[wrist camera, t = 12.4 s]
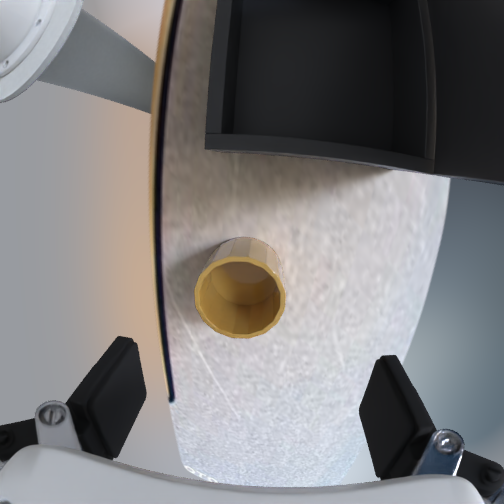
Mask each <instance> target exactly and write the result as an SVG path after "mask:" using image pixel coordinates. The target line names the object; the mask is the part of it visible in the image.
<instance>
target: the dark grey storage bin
mask: <svg viewBox="0 0 504 504" xmlns="http://www.w3.org/2000/svg"><path fill="white" fill-rule="evenodd" d="M205 133H206V134H205V149H207V150H212V151H217V152H225V153H248V154H265V155H279V156H291V157H302V158H312V159H322V160H330V161H338V162H346V163H354V164H361V165H367V166H374V167H380V168H386V169H392V170H399V171H407V172H415V173H423V174H430V175H434V174H433V173H434V161H435V145H436V74H435V59H434V48H433V39H432V30H431V23H430V17H429V10H428V5H427V0H218V2H217V10H216V18H215V26H214V35H213V45H212V55H211V65H210V76H209V88H208V101H207V116H206V131H205Z"/></svg>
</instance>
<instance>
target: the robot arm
mask: <svg viewBox="0 0 504 504" xmlns="http://www.w3.org/2000/svg"><path fill="white" fill-rule="evenodd" d="M55 5H56V0H0V77H1V76H4V75H6V74H8V73H10V72H11V71H12V70H13V69H15V68H16V67H17V66H18V65H19V64H20V63H21V62H22V61H23V60H24V59H25V58H26V57H27V55H28V54H29V53H30V52H31V51H32V49H33V48H34V47H35V45H36V44H37V42H38V41H39V39H40V38H41V36H42V34H43V33H44V31H45V29H46V27H47V25H48V24H49V21H50V19H51V17H52V14H53V12H54V8H55ZM145 399H146V387H145V382H144V377H143V372H142V368H141V362H140V357H139V351H138V345H137V343H135V342H134V341H133V339H132V338H128V337H122V336H118V337H117V338H116V339H115V341H114V342H113V343H112V344H111V345H110V347H109V348H108V349H107V351H106V352H105V353H104V354H103V356H102V357H101V358H100V359H99V361H98V362H97V363H96V364H95V365H94V366H93V368H92V369H91V370H90V372H89V373H88V374H87V375H86V377H85V378H84V379H83V381H82V382H81V383H80V384H79V386H78V387H77V388H76V390H75V391H74V392H73V394H72V395H71V397H70V398H69V399H68V401H67V402H66V403H65V404H64V403H62V402H61V401H56V400H55V401H48V402H45V403H43V404H42V405H40V406H39V407H38V408H37V410H36V412H35V418H33V419H29V420H25V421H21V422H15V423H11V424H6V425H1V426H0V504H504V469H503V467H502V466H501V465H500V464H498V463H496V462H494V461H491V460H488V459H486V458H483V457H481V456H478V455H476V454H473V453H471V452H468V451H466V450H464V445H465V444H464V440H463V438H462V437H461V435H459V434H458V433H457V432H455V431H453V430H450V429H441V430H438V431H437V430H436V428H435V426H434V424H433V422H432V420H431V418H430V416H429V414H428V412H427V410H426V408H425V406H424V404H423V402H422V400H421V398H420V397H419V395H418V393H417V391H416V389H415V388H414V386H413V385H412V383H411V381H410V379H409V378H408V376H407V374H406V372H405V370H404V368H403V367H402V365H401V363H400V361H399V360H398V358H397V356H396V355H385V356H381V357H380V359H378V360H376V362H375V365H374V368H373V371H372V374H371V377H370V380H369V383H368V385H367V388H366V391H365V394H364V396H363V399H362V402H361V404H360V407H359V415H360V419H361V422H362V426H363V429H364V433H365V436H366V440H367V443H368V447H369V451H370V455H371V458H372V462H373V466H374V470H375V474H376V476H377V477H378V478H379V477H380V479H381V481H374V482H366V483H357V484H348V485H337V486H322V487H258V486H243V485H232V484H223V483H214V482H207V481H200V480H194V479H188V478H182V477H177V476H172V475H167V474H163V473H158V472H154V471H150V470H146V469H142V468H138V467H134V466H130V465H127V464H123V463H120V462H116V461H113V458H117V457H118V455H119V454H120V451H121V449H122V447H123V445H124V443H125V441H126V438H127V436H128V434H129V432H130V430H131V428H132V426H133V424H134V422H135V420H136V418H137V416H138V414H139V411H140V409H141V407H142V405H143V403H144V401H145Z"/></svg>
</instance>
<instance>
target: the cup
mask: <svg viewBox="0 0 504 504" xmlns="http://www.w3.org/2000/svg"><path fill="white" fill-rule="evenodd" d="M194 297H195V306H196V309H197V311H198V312H199V314H200V316H201V318H202V320H203V321H204V322H205V323H206V324H207V325H208V326H210V327H211V328H212V329H213V330H214V331H215V332H218V333H220V334H223V335H225V336H228V337H231V338H252V337H255V336H258V335H261V334H264V333H266V332H267V331H268V330H270V329H271V328H272V327H273V326H275V325H276V324H277V323H278V321H279V319H280V318H281V316H282V314H283V312H284V310H285V300H286V291H285V283H284V275H283V268H282V265H281V262H280V260H279V258H278V256H277V254H276V253H275V251H274V250H273V249H272V248H271V247H270V246H269V245H267V244H266V243H264V242H262V241H260V240H258V239H255V238H250V237H238V238H234V239H231V240H228V241H226V242H224V243H223V244H221V245H220V246H219V247H218V248H217V249H216V250H215V251H214V252H213V253H212V255H211V256H210V258H209V260H208V262H207V263H206V265H205V267H204V268H203V270H202V272H201V274H200V275H199V278H198V281H197V283H196V286H195V289H194Z"/></svg>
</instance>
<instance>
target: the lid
mask: <svg viewBox="0 0 504 504" xmlns="http://www.w3.org/2000/svg"><path fill="white" fill-rule="evenodd" d="M427 5H428V10H429V17H430V23H431V30H432V39H433V48H434V59H435V74H436V145H435V161H434V173H433V174H434V175H437V176H442V177H449V178H457V179H465V180H472V181H479V182H485V183H492V184H498V185H504V0H427Z"/></svg>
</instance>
